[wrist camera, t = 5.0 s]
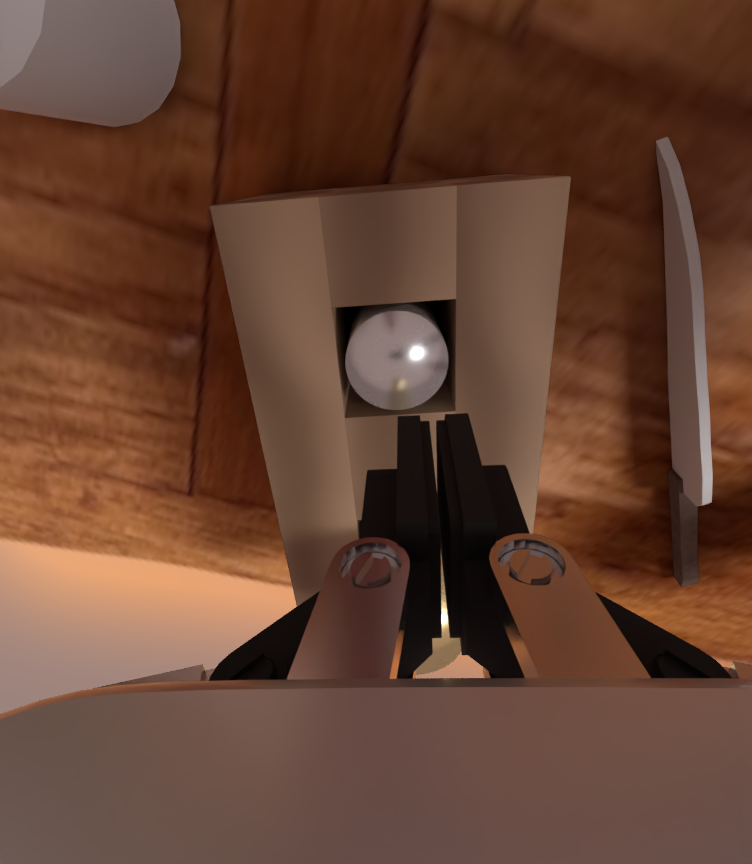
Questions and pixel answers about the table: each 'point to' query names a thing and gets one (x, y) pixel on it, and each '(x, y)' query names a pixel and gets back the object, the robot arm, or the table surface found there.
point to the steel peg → (396, 354)
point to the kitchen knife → (685, 368)
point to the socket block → (385, 284)
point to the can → (88, 58)
